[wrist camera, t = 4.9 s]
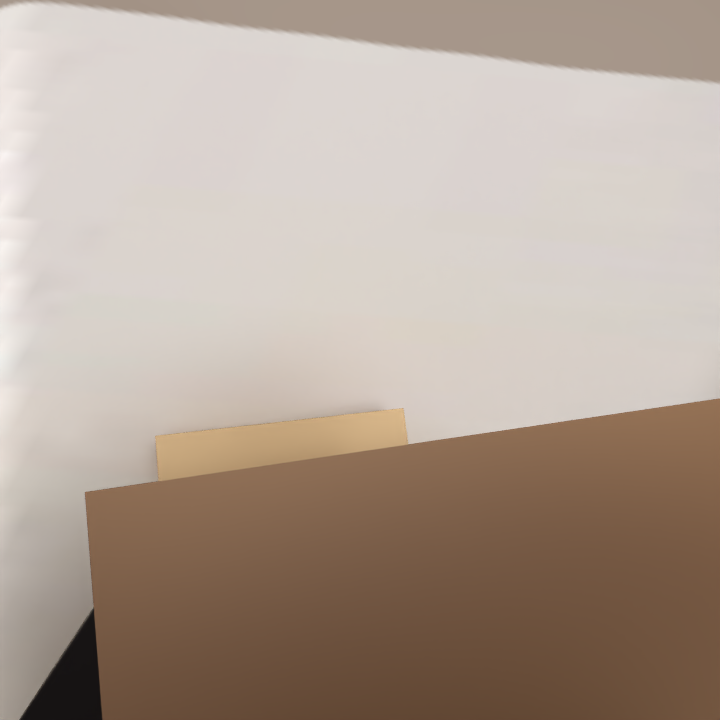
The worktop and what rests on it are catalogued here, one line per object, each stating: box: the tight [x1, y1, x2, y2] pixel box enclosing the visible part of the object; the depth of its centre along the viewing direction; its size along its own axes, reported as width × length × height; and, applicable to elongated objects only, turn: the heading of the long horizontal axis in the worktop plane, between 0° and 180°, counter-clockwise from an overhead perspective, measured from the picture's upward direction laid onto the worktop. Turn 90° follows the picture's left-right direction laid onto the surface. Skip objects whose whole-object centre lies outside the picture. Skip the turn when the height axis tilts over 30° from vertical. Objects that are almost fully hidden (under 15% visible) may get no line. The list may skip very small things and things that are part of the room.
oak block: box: [155, 408, 408, 481], centre depth 21 cm, size 8×8×3 cm
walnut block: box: [85, 399, 720, 720], centre depth 10 cm, size 5×5×12 cm
